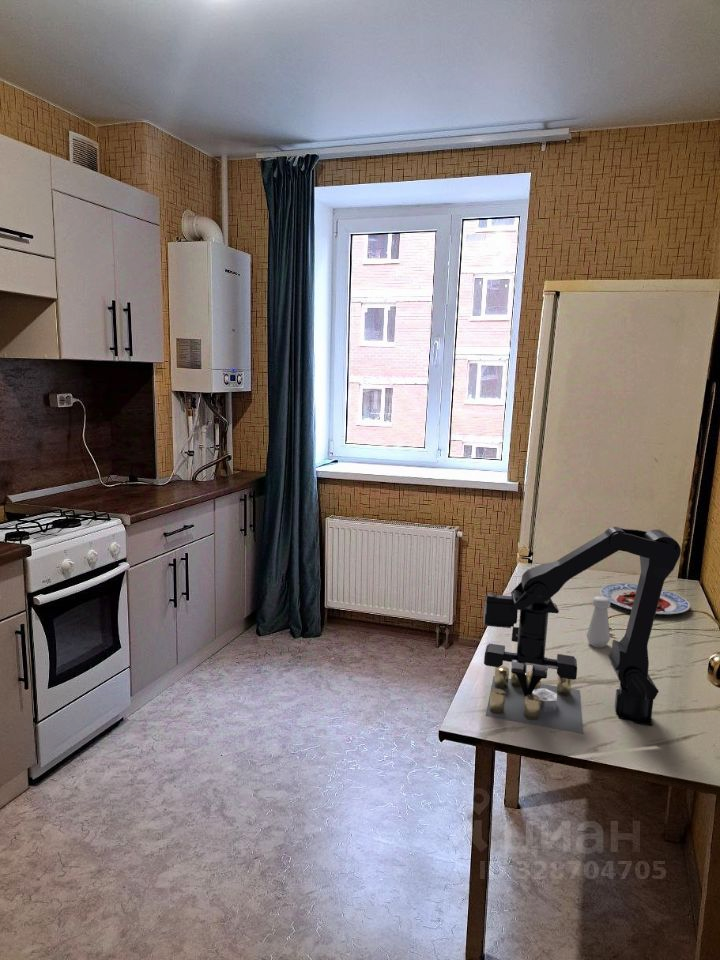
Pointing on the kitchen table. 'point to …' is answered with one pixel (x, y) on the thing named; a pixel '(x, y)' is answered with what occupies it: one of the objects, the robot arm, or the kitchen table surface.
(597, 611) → the salt shaker
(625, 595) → the ceramic plate
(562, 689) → the brass spacers
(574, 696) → the mat
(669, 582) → the kitchen table surface
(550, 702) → the clear faceted crystal
